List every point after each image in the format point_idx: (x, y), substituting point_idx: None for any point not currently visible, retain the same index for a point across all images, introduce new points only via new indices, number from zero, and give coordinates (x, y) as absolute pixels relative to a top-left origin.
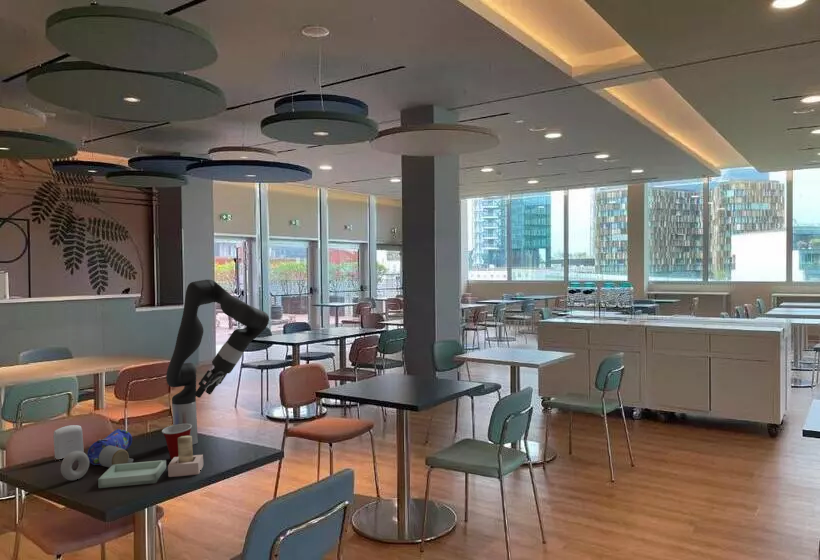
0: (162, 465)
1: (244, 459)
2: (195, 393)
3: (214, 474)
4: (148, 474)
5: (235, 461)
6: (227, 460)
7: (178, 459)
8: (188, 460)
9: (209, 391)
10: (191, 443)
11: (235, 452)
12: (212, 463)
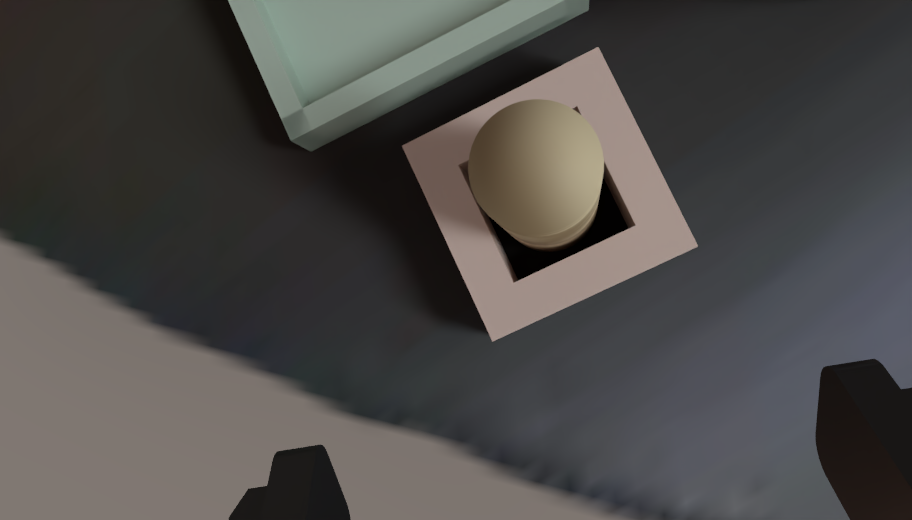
0: (481, 45)
1: None
2: (277, 472)
3: (515, 453)
4: (274, 99)
5: None
6: None
7: None
8: (515, 238)
9: (844, 466)
10: (547, 237)
11: None
12: (744, 292)
